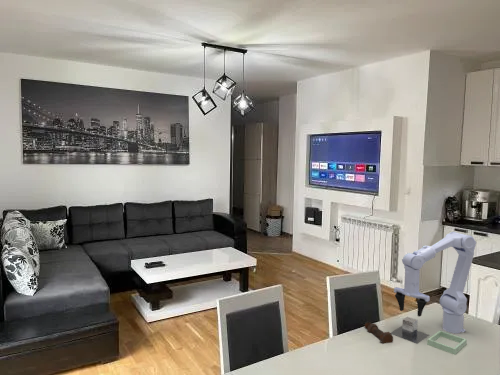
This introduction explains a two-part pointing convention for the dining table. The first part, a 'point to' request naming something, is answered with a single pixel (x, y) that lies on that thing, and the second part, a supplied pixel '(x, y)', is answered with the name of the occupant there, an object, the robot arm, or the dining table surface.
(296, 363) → the dining table surface
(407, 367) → the dining table surface
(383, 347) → the dining table surface
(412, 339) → the stud plate
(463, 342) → the parts tray
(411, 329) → the grey metal block
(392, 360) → the dining table surface
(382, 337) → the bolt
